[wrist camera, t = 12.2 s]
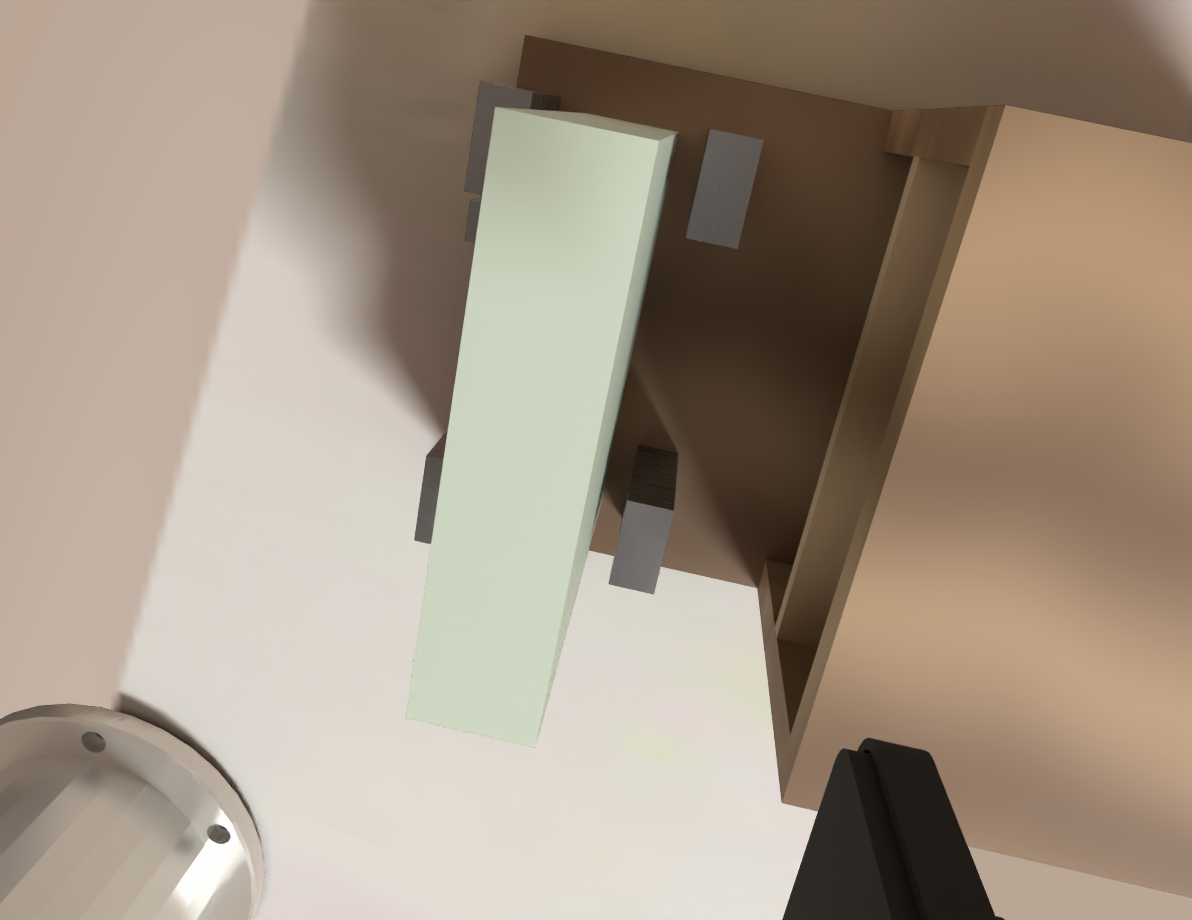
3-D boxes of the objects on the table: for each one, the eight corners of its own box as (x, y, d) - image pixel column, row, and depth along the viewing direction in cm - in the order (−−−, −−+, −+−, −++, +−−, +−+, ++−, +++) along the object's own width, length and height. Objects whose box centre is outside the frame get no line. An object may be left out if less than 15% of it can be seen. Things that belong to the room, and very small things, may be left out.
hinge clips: (661, 526, 29) (653, 594, 25) (455, 480, 30) (414, 540, 25) (754, 137, 26) (763, 140, 21) (516, 87, 26) (479, 81, 22)
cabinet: (1070, 643, 30) (1258, 913, 20) (457, 507, 31) (333, 699, 21) (1260, 188, 26) (1636, 234, 15) (531, 38, 26) (419, -16, 16)
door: (599, 508, 29) (535, 748, 18) (500, 486, 30) (374, 711, 18) (678, 132, 26) (659, 140, 14) (564, 108, 26) (456, 98, 15)
